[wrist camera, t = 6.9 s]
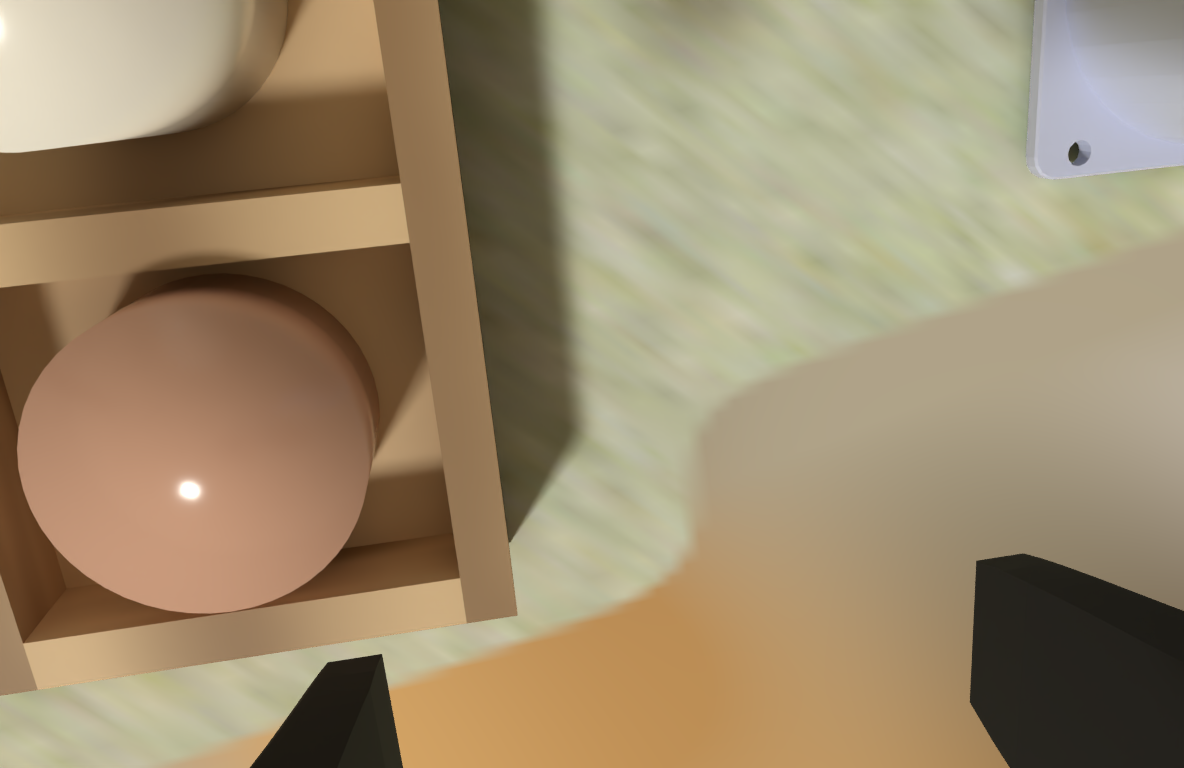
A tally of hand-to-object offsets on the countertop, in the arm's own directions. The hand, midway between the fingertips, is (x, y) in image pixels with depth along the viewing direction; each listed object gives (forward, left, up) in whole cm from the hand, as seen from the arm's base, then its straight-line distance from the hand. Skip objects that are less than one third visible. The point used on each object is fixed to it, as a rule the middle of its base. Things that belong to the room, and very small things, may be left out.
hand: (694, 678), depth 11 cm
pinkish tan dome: (+7, -1, -9) cm, 11 cm away
